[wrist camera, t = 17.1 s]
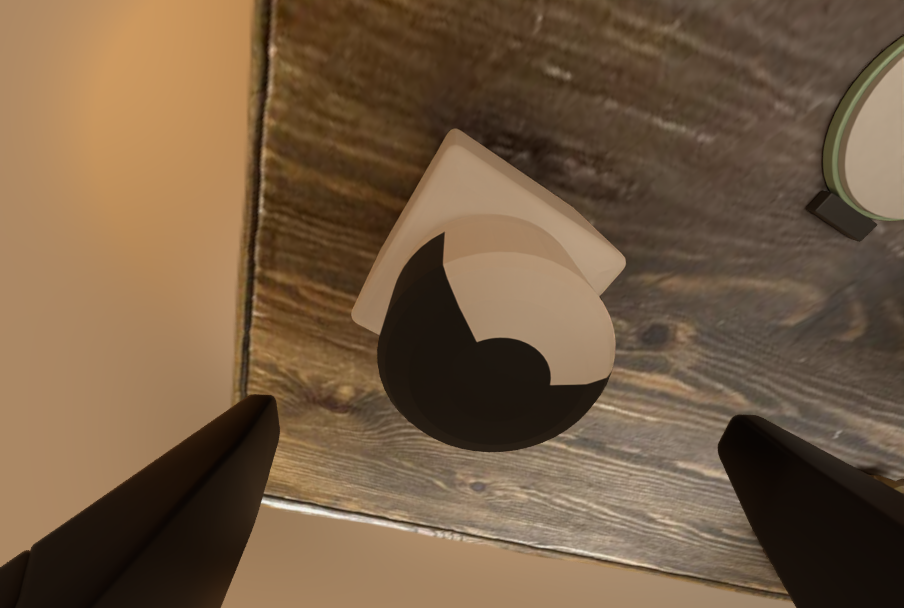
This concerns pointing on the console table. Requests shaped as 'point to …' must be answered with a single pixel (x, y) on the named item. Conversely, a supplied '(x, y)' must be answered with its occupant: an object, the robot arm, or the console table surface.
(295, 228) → the console table surface
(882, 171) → the scale
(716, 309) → the console table surface
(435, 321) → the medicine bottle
